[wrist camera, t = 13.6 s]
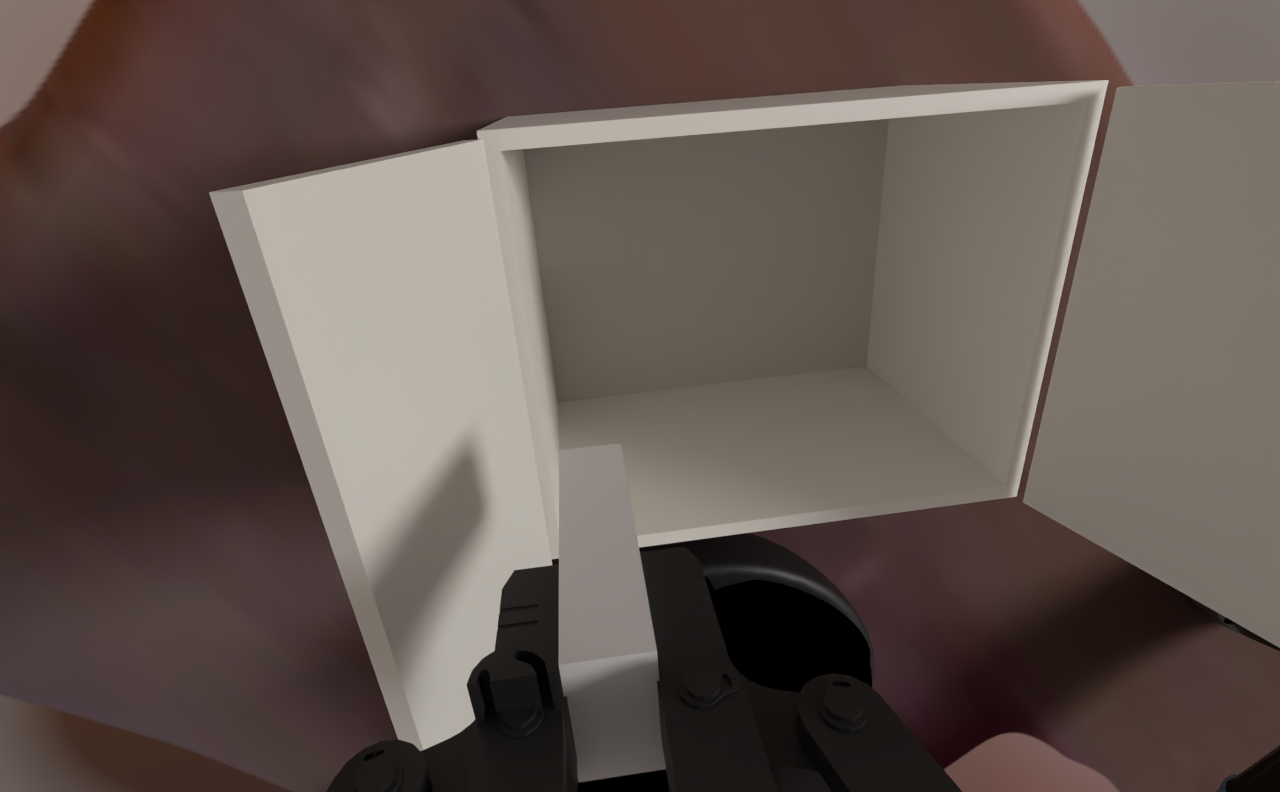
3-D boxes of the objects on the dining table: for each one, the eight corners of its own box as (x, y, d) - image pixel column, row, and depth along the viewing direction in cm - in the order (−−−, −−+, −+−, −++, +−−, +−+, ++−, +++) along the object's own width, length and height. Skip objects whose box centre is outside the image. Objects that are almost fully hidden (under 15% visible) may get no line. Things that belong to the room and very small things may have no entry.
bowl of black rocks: (832, 639, 50) (976, 919, 33) (586, 717, 50) (604, 1035, 33) (784, 423, 41) (948, 654, 24) (486, 519, 41) (441, 815, 24)
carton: (897, 85, 33) (1108, 80, 21) (870, 370, 40) (1016, 496, 27) (506, 116, 32) (476, 131, 19) (549, 407, 38) (547, 559, 26)
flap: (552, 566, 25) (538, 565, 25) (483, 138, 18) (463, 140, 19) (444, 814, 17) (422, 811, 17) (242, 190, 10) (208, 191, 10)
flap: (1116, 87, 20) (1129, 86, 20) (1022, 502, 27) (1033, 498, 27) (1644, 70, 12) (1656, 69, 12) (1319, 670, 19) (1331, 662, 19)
